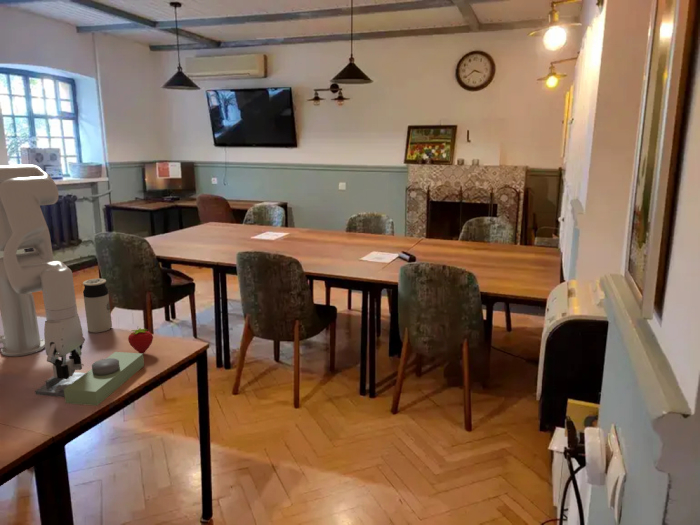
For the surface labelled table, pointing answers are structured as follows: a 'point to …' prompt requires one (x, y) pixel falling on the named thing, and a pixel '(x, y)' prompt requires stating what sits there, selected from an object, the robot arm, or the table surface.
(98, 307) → the travel mug
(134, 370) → the green slab with knob
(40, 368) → the table surface
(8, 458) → the table surface
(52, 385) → the grey plate with ledge
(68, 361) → the usb wall charger
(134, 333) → the strawberry
